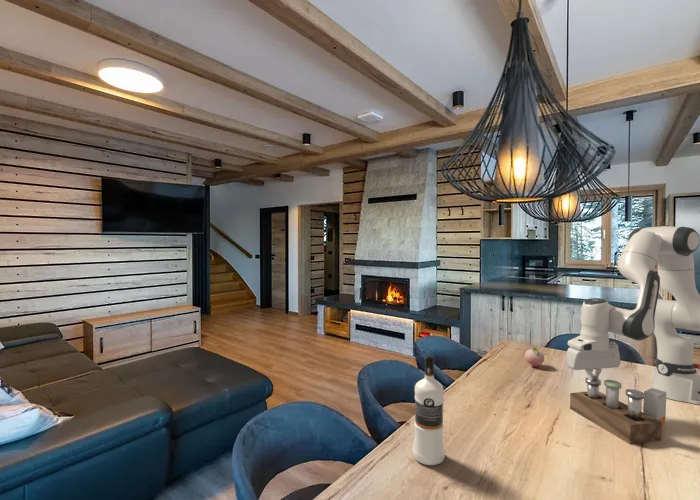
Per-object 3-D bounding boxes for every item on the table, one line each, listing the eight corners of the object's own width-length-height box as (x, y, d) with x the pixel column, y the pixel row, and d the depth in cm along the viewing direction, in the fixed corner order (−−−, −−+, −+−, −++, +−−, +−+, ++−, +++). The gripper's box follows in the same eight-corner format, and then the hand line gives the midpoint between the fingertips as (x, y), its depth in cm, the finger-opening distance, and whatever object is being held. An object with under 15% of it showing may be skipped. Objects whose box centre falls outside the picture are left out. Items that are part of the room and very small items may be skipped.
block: (597, 405, 139) (597, 390, 139) (661, 440, 115) (661, 421, 115) (569, 408, 137) (570, 393, 137) (629, 444, 113) (630, 425, 113)
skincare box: (657, 430, 121) (658, 395, 121) (642, 424, 125) (643, 390, 125) (665, 426, 124) (667, 392, 124) (651, 420, 128) (652, 387, 127)
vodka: (446, 452, 109) (447, 353, 108) (442, 470, 100) (443, 363, 99) (415, 445, 112) (416, 349, 111) (409, 462, 104) (410, 359, 103)
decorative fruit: (522, 363, 186) (522, 344, 186) (539, 364, 185) (539, 344, 185) (528, 369, 177) (528, 349, 177) (546, 370, 176) (546, 350, 176)
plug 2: (633, 415, 121) (634, 388, 121) (647, 422, 116) (648, 394, 116) (621, 416, 120) (621, 389, 120) (634, 424, 115) (635, 395, 115)
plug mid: (611, 404, 129) (612, 379, 128) (624, 411, 124) (625, 384, 124) (600, 405, 128) (600, 380, 128) (612, 412, 123) (613, 385, 123)
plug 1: (592, 400, 137) (593, 376, 136) (603, 406, 132) (604, 381, 132) (581, 401, 136) (582, 377, 135) (592, 407, 131) (593, 382, 131)
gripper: (610, 339, 138) (609, 374, 139) (563, 341, 134) (562, 378, 135) (625, 343, 132) (624, 381, 132) (577, 346, 128) (576, 384, 129)
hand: (593, 379), depth 134 cm, fingers closed, pressing on plug 1
